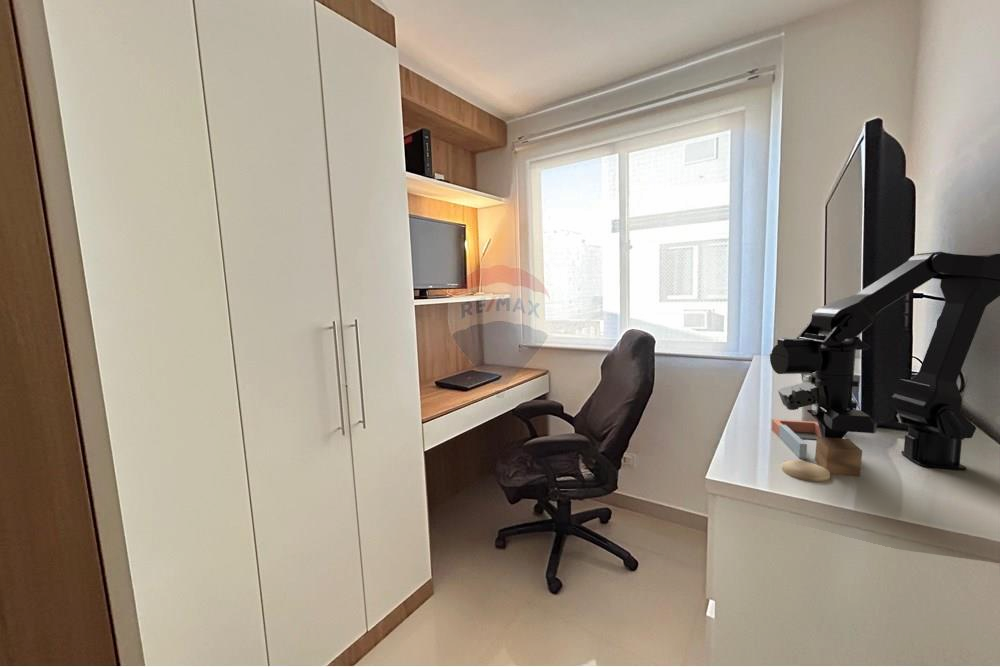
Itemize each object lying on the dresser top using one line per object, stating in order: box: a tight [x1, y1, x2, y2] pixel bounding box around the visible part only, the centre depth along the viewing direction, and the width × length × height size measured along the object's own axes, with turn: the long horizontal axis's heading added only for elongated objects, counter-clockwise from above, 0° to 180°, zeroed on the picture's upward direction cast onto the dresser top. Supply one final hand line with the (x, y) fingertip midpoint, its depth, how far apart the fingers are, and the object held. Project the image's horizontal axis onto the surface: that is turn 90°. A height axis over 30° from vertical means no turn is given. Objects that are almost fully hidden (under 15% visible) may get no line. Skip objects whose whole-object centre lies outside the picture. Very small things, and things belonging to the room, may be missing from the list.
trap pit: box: [771, 418, 822, 441], centre depth 92 cm, size 9×6×2 cm, turn 71°
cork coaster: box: [781, 460, 831, 483], centre depth 74 cm, size 7×7×1 cm
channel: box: [778, 425, 846, 460], centre depth 84 cm, size 9×12×3 cm
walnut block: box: [814, 437, 863, 477], centre depth 75 cm, size 5×5×5 cm
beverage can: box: [800, 374, 818, 422], centre depth 99 cm, size 5×5×12 cm
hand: (828, 450), depth 78 cm, fingers closed
